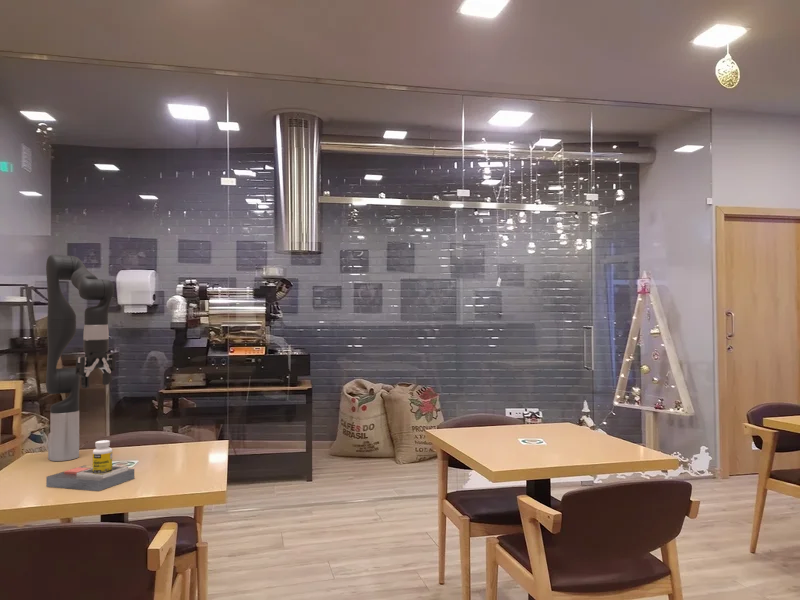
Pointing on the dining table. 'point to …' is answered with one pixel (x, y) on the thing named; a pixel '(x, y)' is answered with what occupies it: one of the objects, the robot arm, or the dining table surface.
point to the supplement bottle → (102, 457)
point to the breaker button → (75, 470)
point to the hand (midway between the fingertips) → (95, 386)
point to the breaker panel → (91, 479)
